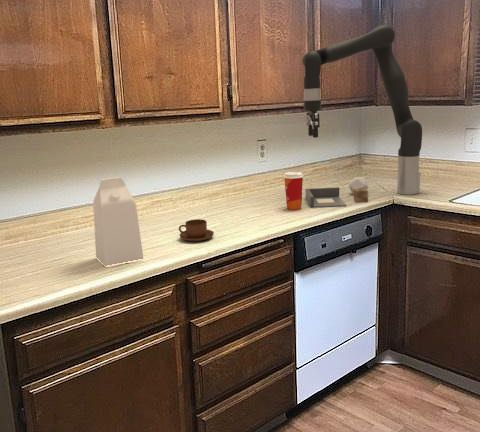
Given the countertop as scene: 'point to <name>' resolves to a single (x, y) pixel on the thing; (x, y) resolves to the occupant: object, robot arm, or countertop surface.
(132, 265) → the countertop surface
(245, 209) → the countertop surface
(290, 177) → the coffee cup
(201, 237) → the cup and saucer
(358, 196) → the walnut block
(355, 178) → the die
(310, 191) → the board
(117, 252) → the milk
